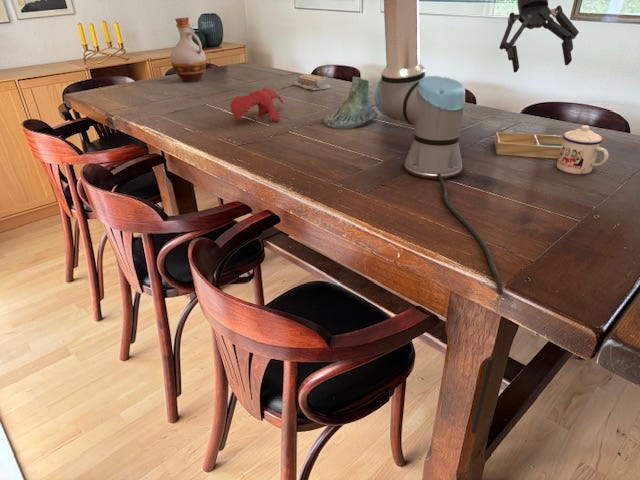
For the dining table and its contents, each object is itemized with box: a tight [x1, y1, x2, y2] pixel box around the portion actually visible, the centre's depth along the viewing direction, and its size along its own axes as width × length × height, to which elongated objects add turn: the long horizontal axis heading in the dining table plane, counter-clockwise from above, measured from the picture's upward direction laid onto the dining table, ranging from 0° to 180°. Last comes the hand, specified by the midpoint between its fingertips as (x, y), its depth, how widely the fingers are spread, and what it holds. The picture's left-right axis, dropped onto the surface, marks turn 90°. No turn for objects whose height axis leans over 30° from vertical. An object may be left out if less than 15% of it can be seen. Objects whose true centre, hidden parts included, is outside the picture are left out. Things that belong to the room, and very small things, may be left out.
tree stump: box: [322, 76, 379, 130], centre depth 164 cm, size 18×20×18 cm
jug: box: [169, 17, 207, 83], centre depth 230 cm, size 20×18×30 cm
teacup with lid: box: [556, 124, 609, 175], centre depth 118 cm, size 12×9×12 cm
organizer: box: [494, 131, 563, 160], centre depth 134 cm, size 11×22×3 cm, turn 75°
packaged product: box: [293, 73, 331, 92], centre depth 218 cm, size 18×5×10 cm
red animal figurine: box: [229, 87, 284, 123], centre depth 168 cm, size 28×9×15 cm
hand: (542, 66), depth 124 cm, fingers open, 13 cm apart
